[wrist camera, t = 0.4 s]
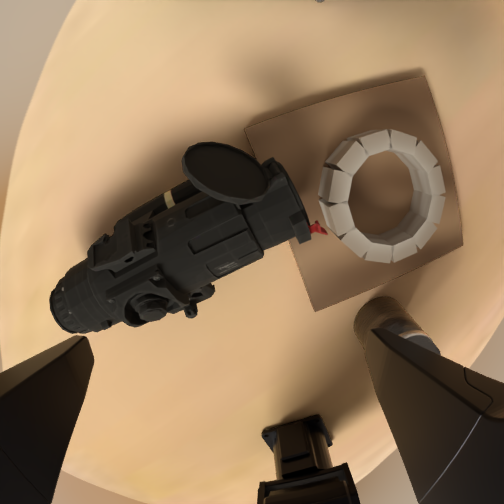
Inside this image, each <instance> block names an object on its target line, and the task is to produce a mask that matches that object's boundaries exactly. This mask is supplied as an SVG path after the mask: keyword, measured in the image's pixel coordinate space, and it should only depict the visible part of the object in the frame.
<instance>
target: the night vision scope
mask: <svg viewBox="0 0 504 504" xmlns="http://www.w3.org/2000/svg"><path fill="white" fill-rule="evenodd" d="M182 167H183V172H184V174H185V175H186V176H187V177H188V179H189V180H187V181H186V182H184V183H182V184H180V185H178V186H177V187H175V188H173V189H171V190H170V191H168V192H165V193H163V194H161V195H160V196H158V197H156V198H154V199H153V200H151V201H149V202H147V203H146V204H144V205H142V206H140V207H139V208H137V209H135V210H134V211H132V212H131V213H129V214H128V215H126V216H125V217H123V218H122V219H120V220H119V221H118V222H117V223H116V225H115V226H114V231H115V232H114V233H113V235H112V236H111V237H109V235H107V234H104V235H103V236H102V237H101V238H99V239H98V240H97V241H96V242H95V243H94V244H92V245H91V247H90V248H89V250H88V252H87V254H88V258H86V259H85V260H83V261H82V262H80V263H78V264H77V265H75V266H73V267H72V268H70V269H69V271H68V272H67V273H66V274H65V277H63V278H62V279H60V280H59V282H58V284H57V285H56V288H55V289H54V290H53V291H52V292H51V295H50V299H49V301H50V310H51V313H52V315H53V317H54V319H55V321H56V323H57V324H58V325H59V326H60V327H61V328H62V329H63V330H65V331H67V332H69V333H72V334H74V333H78V332H79V333H82V334H85V333H88V332H91V331H94V332H99V331H101V330H106V329H108V328H110V327H111V326H112V325H115V324H117V323H119V322H122V321H123V322H124V323H126V324H127V325H129V326H132V327H139V326H142V325H144V324H146V323H148V322H152V321H157V320H160V319H161V318H163V317H164V316H166V314H167V312H168V313H172V314H174V313H177V312H179V311H181V310H184V312H185V315H186V317H188V318H194V317H196V316H197V312H198V310H197V305H196V304H197V303H199V302H201V301H203V300H206V299H208V298H210V297H211V296H212V295H213V294H214V292H215V287H214V285H213V286H212V284H211V282H213V281H215V280H217V279H220V278H222V277H224V276H226V275H228V274H230V273H232V272H234V271H236V270H238V269H240V268H242V267H244V266H247V265H249V264H251V263H253V262H255V261H257V260H259V259H261V258H263V256H264V250H266V249H269V248H271V247H274V246H276V245H278V244H280V243H283V242H285V241H287V240H289V239H292V238H294V237H296V239H297V240H298V242H299V244H302V243H304V242H307V241H309V240H311V239H312V238H311V234H312V233H314V232H317V233H321V234H325V235H328V233H327V231H326V230H325V228H323V227H320V224H319V222H318V220H316V221H315V224H312V225H310V222H309V218H308V215H307V213H306V210H305V208H304V205H303V203H302V200H301V198H300V196H299V194H298V192H297V190H296V188H295V186H294V184H293V182H292V180H291V178H290V177H289V175H288V173H287V171H286V170H285V168H284V167H283V165H282V164H281V163H280V162H277V161H276V160H275V159H274V157H271V158H269V159H267V160H265V161H264V162H263V163H262V164H260V163H259V162H258V161H257V160H256V159H255V158H253V157H252V156H250V155H249V154H247V153H246V152H244V151H242V150H240V149H237V148H235V147H232V146H230V145H227V144H222V143H216V142H201V143H197V144H195V145H192V146H190V147H189V148H188V149H187V151H186V152H185V154H184V156H183V158H182Z"/></svg>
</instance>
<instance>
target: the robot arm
mask: <svg viewBox="0 0 504 504" xmlns="http://www.w3.org/2000/svg"><path fill="white" fill-rule="evenodd" d="M365 358H366V361H367V364H368V368H369V371H370V375H371V378H372V381H373V385H374V389H375V392H376V395H377V397H378V400H379V402H380V405H381V407H382V410H383V412H384V415H385V417H386V419H387V422H388V424H389V427H390V429H391V432H392V434H393V437H394V439H395V442H396V444H397V447H398V449H399V452H400V455H401V457H402V460H403V462H404V465H405V468H406V470H407V473H408V476H409V479H410V481H411V484H412V487H413V490H414V492H415V495H416V498H417V501H418V503H419V504H504V383H502V382H499V381H497V380H494V379H491V378H489V377H486V376H484V375H482V374H479V373H477V372H475V371H472V370H471V369H469V368H466V367H463V366H462V365H460V364H458V363H456V362H454V361H451V360H449V359H447V358H445V357H443V356H441V355H439V354H437V353H434V352H432V351H430V350H428V349H426V348H424V347H422V346H420V345H418V344H415V343H413V342H411V341H409V340H407V339H405V338H403V337H401V336H399V335H397V334H394V333H392V332H390V331H388V330H386V329H384V328H373V329H370V330H369V332H368V337H367V342H366V348H365ZM93 365H94V356H93V353H92V350H91V347H90V343H89V340H88V338H87V337H85V336H77V335H76V336H73V337H71V338H69V339H67V340H65V341H63V342H61V343H59V344H57V345H55V346H53V347H51V348H49V349H47V350H45V351H43V352H41V353H39V354H37V355H35V356H33V357H31V358H29V359H27V360H25V361H23V362H21V363H19V364H17V365H15V366H13V367H11V368H9V369H7V370H6V371H4V372H2V373H0V504H51V503H52V499H53V496H54V492H55V488H56V485H57V481H58V477H59V474H60V470H61V467H62V464H63V461H64V458H65V454H66V451H67V448H68V445H69V442H70V439H71V436H72V433H73V430H74V427H75V424H76V421H77V419H78V416H79V413H80V410H81V408H82V405H83V402H84V399H85V395H86V392H87V388H88V384H89V380H90V376H91V373H92V369H93ZM261 434H262V438H263V439H264V441H265V442H266V443H267V445H268V446H269V447H270V449H271V450H272V452H273V453H274V459H275V468H276V477H277V480H274V481H268V482H265V481H264V482H260V485H259V489H258V499H257V504H360V500H359V497H358V493H357V490H356V487H355V484H354V481H353V478H352V475H351V472H350V470H349V467H348V464H347V462H346V463H343V464H342V465H339V466H335V467H333V465H332V462H331V458H330V454H329V450H328V447H330V446H332V441H331V438H330V436H329V434H328V431H327V429H326V427H325V424H324V422H323V420H322V417H321V416H320V415H315V416H312V417H309V418H306V419H303V420H299V421H296V422H293V423H290V424H286V425H283V426H280V427H276V428H273V429H269V430H265V431H263V432H262V433H261Z"/></svg>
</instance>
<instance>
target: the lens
mask: <svg viewBox="0 0 504 504" xmlns="http://www.w3.org/2000/svg"><path fill="white" fill-rule="evenodd" d="M373 328H384V329H386V330H388V331H390V332H392V333H394V334H397V335H399V336H401V337H403V338H405V339H407V340H409V341H411V342H413V343H415V344H418V345H420V346H422V347H424V348H426V349H428V350H430V351H432V352H434V353H437V354H439V355H441V354H440V351H439V349H438V348H437V347H436V345H435V344H434V343H433V341H432V340H431V338H430V337H429V336H428V335H427V334H426V333H425V332H424V331H423V330H422V329H421V328H420V327H419V325H418V324H417V323H416V322H415V321H414V320H413V319H412V317H411V316H410V315H409V314H408V313H407V312H406V311H405V309H404V308H403V307H402V306H401V305H400V304H399V303H398V302H397V301H396V300H395V299H393V298H391V297H378V298H375V299H373V300H371V301H369V302H368V303H366V304H365V305H364V306H363V307H362V308H361V309H360V311H359V312H358V314H357V315H356V318H355V321H354V331H355V334H356V336H357V337H358V339H359V341H360V343H361V344H362V346H363V348H364V350H365V348H366V342H367V337H368V332H369V330H370V329H373Z"/></svg>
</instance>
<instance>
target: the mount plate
mask: <svg viewBox="0 0 504 504" xmlns="http://www.w3.org/2000/svg"><path fill="white" fill-rule="evenodd" d="M244 130H245V133H246V135H247V138H248V140H249V142H250V145H251V147H252V150H253V152H254V155H255V157H256V159H257V161H258V162H259V163H260V164H262V163H263V162H264V161H265V160H267V159H269V158H271V157H274V159H275V160H276V161H277V162H280V163H281V164H282V165H283V167H284V168H285V170H286V171H287V173H288V175H289V177H290V178H291V180H292V182H293V184H294V186H295V188H296V190H297V192H298V194H299V196H300V198H301V200H302V203H303V205H304V208H305V210H306V213H307V215H308V218H309V222H310V225H312V224H315V221H316V220H318V222H319V224H320V227H323V228H325V230H326V231H327V233H328V235H325V234H321V233H317V232H314V233H312V234H311V238H312V239H311V240H309V241H307V242H304V243H302V244H299V242H298V240H297V239H296V237H294V238H292V239H289V240H288V241H289V244H290V246H291V249H292V252H293V254H294V257H295V260H296V263H297V265H298V268H299V271H300V273H301V276H302V279H303V282H304V284H305V287H306V290H307V293H308V295H309V298H310V301H311V304H312V307H313V309H314V311H315V312H317V311H319V310H322V309H324V308H327V307H329V306H332V305H334V304H337V303H339V302H341V301H344V300H346V299H349V298H351V297H354V296H356V295H358V294H361V293H363V292H365V291H368V290H370V289H372V288H375V287H377V286H379V285H381V284H384V283H386V282H388V281H390V280H393V279H395V278H397V277H399V276H401V275H403V274H406V273H408V272H410V271H412V270H414V269H416V268H418V267H421V266H423V265H425V264H427V263H429V262H431V261H433V260H435V259H437V258H439V257H441V256H443V255H445V254H447V253H449V252H451V251H453V250H455V249H457V248H459V247H461V246H463V237H462V228H461V221H460V213H459V207H458V200H457V194H456V189H455V183H454V178H453V173H452V168H451V164H450V159H449V155H448V151H447V147H446V143H445V139H444V135H443V131H442V128H441V124H440V121H439V117H438V114H437V111H436V108H435V104H434V101H433V98H432V95H431V92H430V90H429V87H428V84H427V81H426V78H425V76H422V77H417V78H412V79H407V80H402V81H398V82H393V83H389V84H385V85H380V86H376V87H372V88H368V89H365V90H361V91H357V92H353V93H350V94H346V95H342V96H339V97H336V98H332V99H329V100H325V101H322V102H319V103H316V104H313V105H309V106H306V107H303V108H300V109H297V110H294V111H291V112H288V113H285V114H282V115H280V116H277V117H274V118H271V119H268V120H266V121H263V122H260V123H258V124H255V125H252V126H250V127H247V128H245V129H244Z"/></svg>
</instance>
